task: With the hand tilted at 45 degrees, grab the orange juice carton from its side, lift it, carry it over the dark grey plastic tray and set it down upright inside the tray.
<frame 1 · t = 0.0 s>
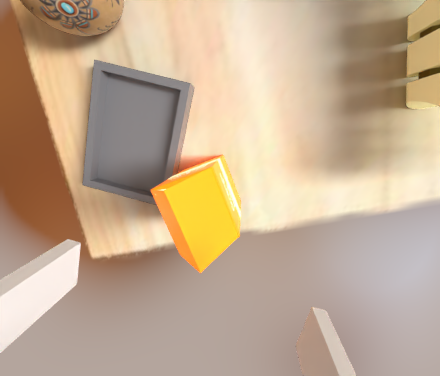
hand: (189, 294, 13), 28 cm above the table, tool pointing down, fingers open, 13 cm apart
orange juice: (212, 185, 40), on the table
ceramic vessel: (102, 15, 36), on the table
tray: (140, 137, 39), on the table
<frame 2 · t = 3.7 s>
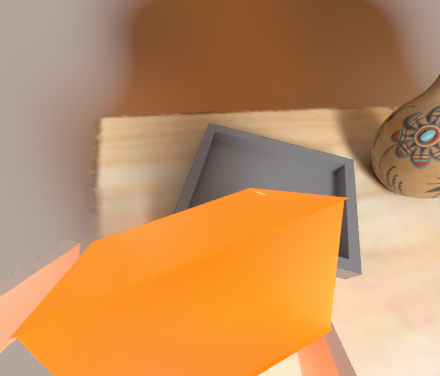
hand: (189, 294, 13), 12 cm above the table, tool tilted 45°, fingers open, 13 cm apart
orange juice: (200, 305, 23), on the table
ceramic vessel: (386, 177, 34), on the table
tray: (266, 198, 30), on the table
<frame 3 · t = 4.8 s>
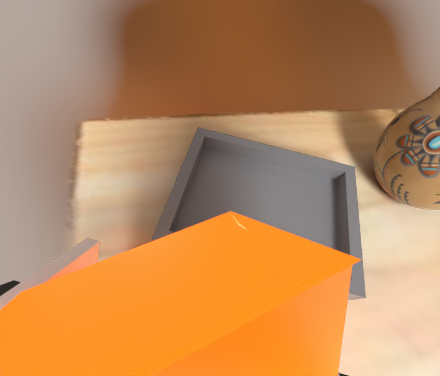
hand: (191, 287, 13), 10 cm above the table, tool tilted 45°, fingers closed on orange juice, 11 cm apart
orange juice: (185, 334, 20), on the table, touching gripper
ceramic vessel: (390, 184, 31), on the table
tray: (260, 209, 27), on the table
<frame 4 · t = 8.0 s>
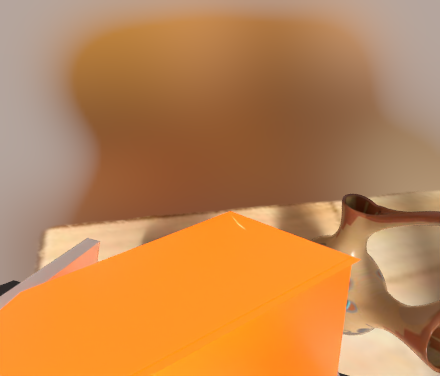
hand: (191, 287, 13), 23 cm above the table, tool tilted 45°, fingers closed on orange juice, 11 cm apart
orange juice: (185, 334, 20), point 13 cm above the table, touching gripper
ceramic vessel: (312, 287, 36), on the table
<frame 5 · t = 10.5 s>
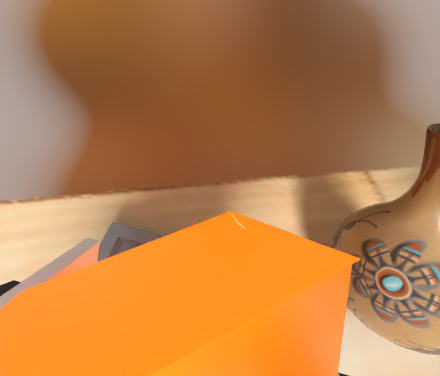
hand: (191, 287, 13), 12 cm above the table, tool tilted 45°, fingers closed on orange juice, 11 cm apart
orange juice: (185, 333, 20), point 2 cm above the table, touching gripper
ceramic vessel: (351, 282, 26), on the table
tray: (183, 331, 22), on the table
when the fingers open (12 cm above the table, at t = 11.4 s): orange juice stays where it is, resting on tray.
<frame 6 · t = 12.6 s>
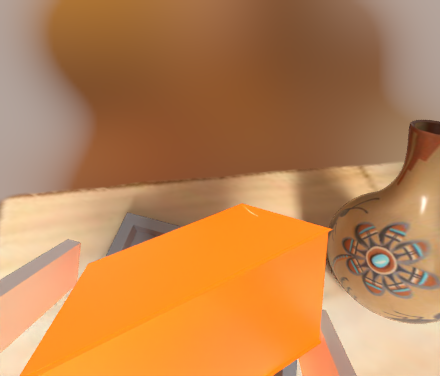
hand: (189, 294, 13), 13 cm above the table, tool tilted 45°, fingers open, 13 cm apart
orange juice: (196, 311, 23), point 1 cm above the table, touching gripper, tray
ceramic vessel: (346, 266, 28), on the table
tray: (194, 310, 24), on the table
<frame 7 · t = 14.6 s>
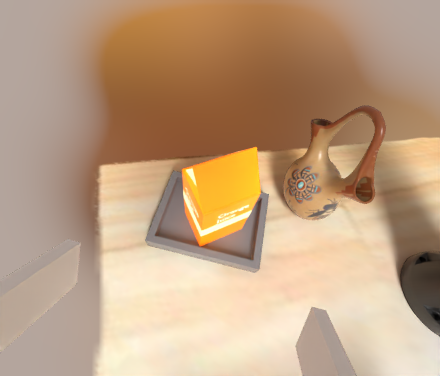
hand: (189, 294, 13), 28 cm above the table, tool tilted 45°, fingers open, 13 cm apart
orange juice: (212, 220, 44), point 1 cm above the table, touching tray
ceramic vessel: (296, 203, 49), on the table
tray: (211, 221, 45), on the table
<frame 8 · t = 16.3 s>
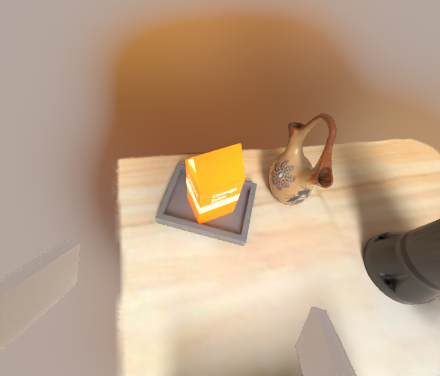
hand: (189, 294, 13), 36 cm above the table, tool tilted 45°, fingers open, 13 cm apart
orange juice: (210, 204, 54), point 1 cm above the table, touching tray
ceramic vessel: (280, 192, 59), on the table
tray: (208, 205, 55), on the table
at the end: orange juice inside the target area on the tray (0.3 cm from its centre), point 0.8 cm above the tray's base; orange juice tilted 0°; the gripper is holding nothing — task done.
